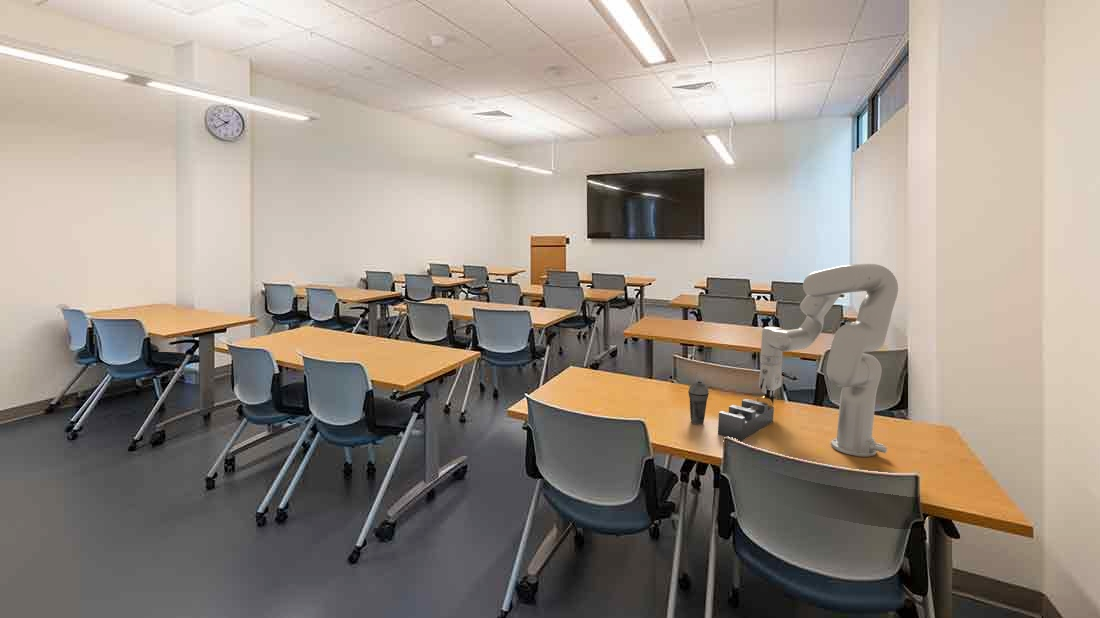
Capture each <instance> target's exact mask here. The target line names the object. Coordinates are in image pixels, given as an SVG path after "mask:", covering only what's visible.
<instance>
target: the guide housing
mask: <svg viewBox="0 0 1100 618" xmlns="http://www.w3.org/2000/svg"><path fill="white" fill-rule="evenodd" d="M752 406H754V407H758V411H756V410H752V409H748V408H750V407H752ZM774 409H775V406H773V407H771V406H768V404H766V403H762V402H758V401H756V400H753V399H749V398H743V399H742V400H741V406H740V405H736V404H732V405H729V407H728V412H727V411H723V410H721V411H719V412H718V423H717V424H718V425H717V435H719V436H722V437H725V436H729V437H733V438H736V439H738V440H740V441H739V442H742V441H744V440H747V438H749V437H751V436H752V435H755V433H757V432H759V431H761V430H763V429H764V428H766V427H767V426H769V425H770V424H772V423H774V413H775V412H774V411H775V410H774ZM738 413H743V414H745V417H742V416H738V415H736V414H738ZM738 440H737V441H738Z"/></svg>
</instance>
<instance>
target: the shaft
mask: <svg viewBox="0 0 1100 618" xmlns="http://www.w3.org/2000/svg"><path fill="white" fill-rule="evenodd" d="M755 401H758V402H762V403H766V404H768V406H771V407H774V401H773V402H772V401H771V399H770V398H768V397H765V396H760V397H758V398H757V399H756V400H755ZM748 409H752V410H756V411H758V407H754V406H752V407H750V408H748ZM736 415H738V416H742V417H745V414H743V413H738V414H736Z"/></svg>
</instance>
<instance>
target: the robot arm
mask: <svg viewBox="0 0 1100 618" xmlns="http://www.w3.org/2000/svg"><path fill="white" fill-rule="evenodd" d="M802 289H803V292H804V294H805V295H806V296H805V297H804V298H803V299H802V301H801V302H800V304H799V308H800V311H801V312H802V313H803V314H804V315H805V316H806V317H805V319H804V321H803V322H802V323H801V324H800V326H799V327H798V328H795V329H788V330H784V329H783V328H781V327H777V326H765V327H763V328H762V331H761V344H760V345H761V346H760V361H759V362H760V363H761V365H760V371H759V379H758V388H759V389H760V390H761V393H762V394H763V396H765V397H768V398H770V399H771V401H772V402H773V403H774V401H775V400H774V398H775V391H776V390H777V389H779V388H781V387H782V380H783V379H782V376H783V375H782V373H783V370H782V365H783V352H791V351H797V350H804V349H807V348H809V347H810V346H811V345H813V343H814V342H815V341H816V340H817V338H818V337H819V336H820V335H821V333H822V331H823V329H824V323H825V316H826V315H827V314H828V313H829V311H830V310H831V308H832V307H833V306H834V304H835V303H836V302H837V300H838V299H839V298H840V296H841V295H842V294H849V293H859V292H866V295H865V297H864V298H863V300H862V301H861V303H860V305H859V307H858V313H857V315H856V319H855V321H854V322H850V323H849V322H848V323H847V324H843V325H841V326H840V327H839V328H838V329H837V330H836V331H835V333H834V335H833V338H832V341H831V346H830V350H829V353H828V354H829V355H828V359H827V363H826V375H827V377H828V379H829V381H830V382H831V384H833V385H835V386H836V387H839V388H841V390H840V391H841V392H840V398H839V399H840V400H839V410H838V421H837V429H836V430H837V431H836V432H837V433H836V438H833V439H831V441H830V446H831V447H832V448H833V450H836V451H838V452H840V453H842V454H846V455H850V456H855V457H867V458H868V457H874V456H875V455H876V454H877V452H879V453H883V454H887V451H888V447H886V446H885V444H883V443H877V441H875V437H874V436H873V429H874V419H875V407H876V399H877V393H878V387H879V386H880V382H881V377H882V371H883V369H882V365H881V362H880V361H879V360H878V358H876V357H875V356H874V355H872V354H869V353H870V352H875V351H878V350H880V349H881V348H882V347H883V346H884V344H885V343H886V342H885V341H886V338H887V334H888V330H889V327H890V322H891V319H892V314H893V310H894V307H895V304H896V301H897V297H898V291H899V285H898V279H897V278H896V276H895V274H894V273H893V272H892V271H891V270H890V269H888V268H887V267H885V266H884V265H880V264H876V263H860V264H859V263H856V264H845V265H840V266H836V267H831V268H826V269H823V270H822V269H820V270H818V271H817V270H816V271H813V272H810V273H809V274H808V275H807V276H805V279H804V280H803V283H802ZM763 396H762V397H763Z"/></svg>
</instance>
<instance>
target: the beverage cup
mask: <svg viewBox="0 0 1100 618" xmlns="http://www.w3.org/2000/svg"><path fill="white" fill-rule="evenodd" d="M695 380H696V381H695V382H693V383H691V385H690V386H689V388H688V398H689V412H690V413H689V414H690V415H689V416H690V423H691V424H693V425H698V426H700V425H704V421H705V416H706V410H707V401H708V398H709V395H710V393H709V388H708V387H707V385H706V384H705V383H704V382H702V381H699V380H698V370H695Z"/></svg>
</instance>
